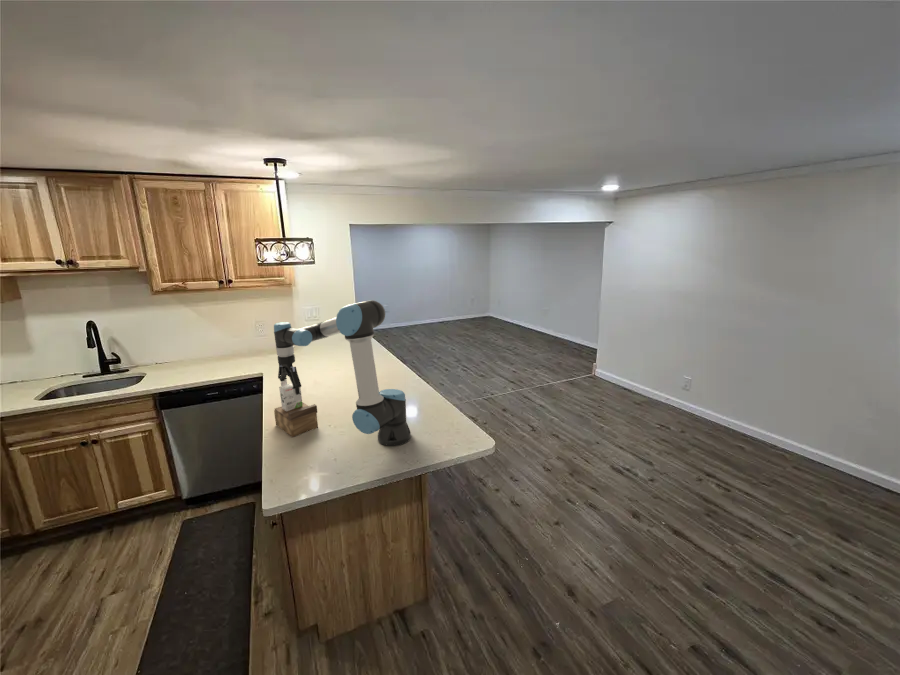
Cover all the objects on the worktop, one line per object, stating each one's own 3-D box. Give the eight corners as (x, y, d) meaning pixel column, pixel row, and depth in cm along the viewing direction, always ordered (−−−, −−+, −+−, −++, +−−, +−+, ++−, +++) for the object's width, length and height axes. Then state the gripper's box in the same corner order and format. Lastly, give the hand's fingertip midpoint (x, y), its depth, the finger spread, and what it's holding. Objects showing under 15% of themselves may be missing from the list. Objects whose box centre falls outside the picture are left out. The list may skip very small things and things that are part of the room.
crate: (318, 427, 195) (316, 412, 193) (292, 437, 186) (290, 421, 184) (301, 416, 207) (299, 402, 205) (275, 425, 198) (274, 410, 196)
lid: (317, 412, 192) (316, 405, 191) (291, 421, 183) (290, 414, 182) (300, 402, 204) (299, 395, 204) (274, 410, 196) (273, 402, 195)
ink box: (298, 403, 201) (295, 381, 198) (303, 406, 198) (300, 383, 195) (281, 409, 195) (278, 386, 192) (286, 411, 192) (283, 388, 189)
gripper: (305, 358, 184) (310, 401, 189) (282, 348, 201) (287, 388, 206) (289, 361, 178) (295, 406, 184) (267, 351, 195) (273, 392, 201)
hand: (291, 396), depth 195 cm, fingers open, 13 cm apart
